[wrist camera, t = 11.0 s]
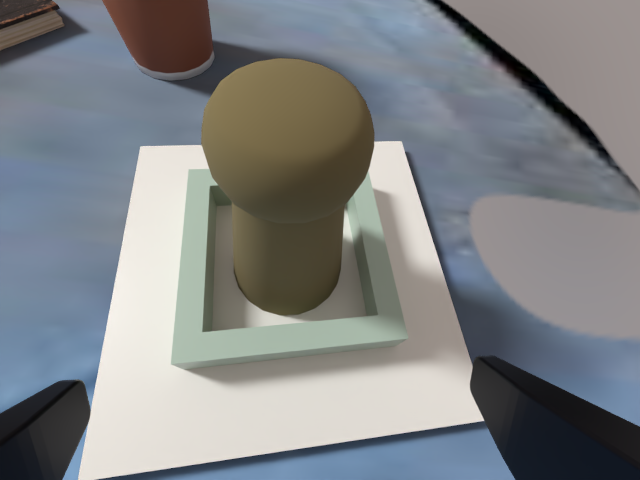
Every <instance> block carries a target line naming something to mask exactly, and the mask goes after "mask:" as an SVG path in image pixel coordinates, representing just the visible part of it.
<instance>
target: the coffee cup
mask: <svg viewBox="0 0 640 480" xmlns="http://www.w3.org/2000/svg"><path fill="white" fill-rule="evenodd" d="M102 1H103V3H104V5H105V6H106V8H107V10H108V12H109V14H110V16H111V18H112V20H113V22H114V23H115V25H116V27H117V29H118V31H119V33H120V35H121V37H122V38H123V40H124V42H125V44H126V46H127V48H128V50H129V52H130V53H131V55H132V57H133V60H134V62H135V64H136V65H137V67H138V68H139V69H140V70H141V72H143V73H145V74H147V75H149V76H151V77H153V78H156V79H162V80H168V81H174V80H185V79H189V78H192V77H195V76H197V75H200V74H202V73H203V72H204V71H206V70H207V69H208V68H209V67H211V65H212V63H213V61H214V58H215V56H214V51H213V43H212V34H211V26H210V18H209V9H208V1H207V0H102Z"/></svg>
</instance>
